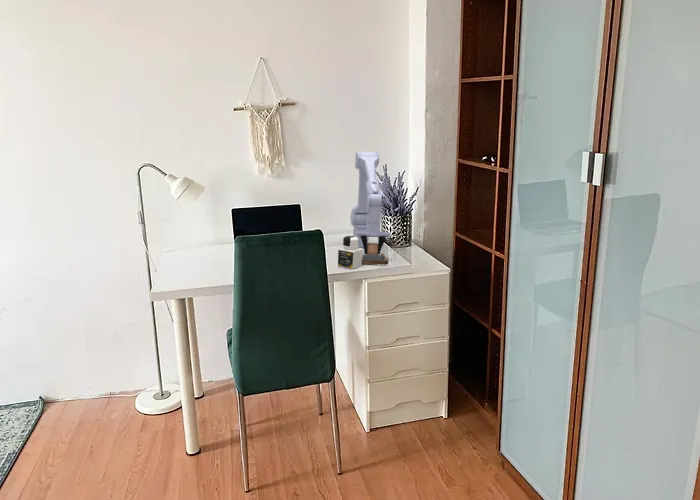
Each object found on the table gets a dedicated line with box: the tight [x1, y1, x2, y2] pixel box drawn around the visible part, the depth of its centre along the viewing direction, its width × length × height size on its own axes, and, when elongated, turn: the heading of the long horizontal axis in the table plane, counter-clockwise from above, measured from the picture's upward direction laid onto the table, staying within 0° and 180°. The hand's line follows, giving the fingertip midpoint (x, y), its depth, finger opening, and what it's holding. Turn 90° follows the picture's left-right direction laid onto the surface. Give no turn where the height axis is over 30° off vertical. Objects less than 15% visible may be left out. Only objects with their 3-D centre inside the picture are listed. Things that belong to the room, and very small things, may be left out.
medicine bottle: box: [337, 235, 363, 270], centre depth 235 cm, size 7×7×12 cm
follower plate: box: [362, 253, 383, 260], centre depth 245 cm, size 1×8×2 cm, turn 96°
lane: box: [361, 252, 389, 266], centre depth 246 cm, size 14×11×2 cm
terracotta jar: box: [367, 242, 379, 255], centre depth 247 cm, size 5×5×6 cm
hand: (372, 253), depth 248 cm, fingers closed on terracotta jar, 5 cm apart
